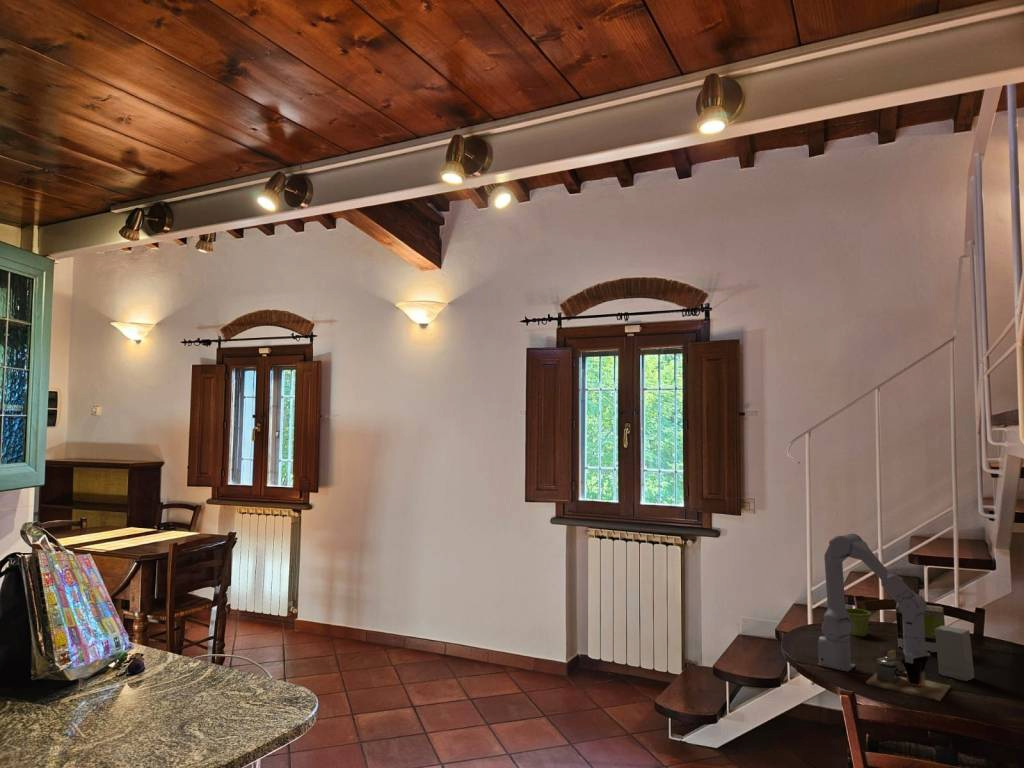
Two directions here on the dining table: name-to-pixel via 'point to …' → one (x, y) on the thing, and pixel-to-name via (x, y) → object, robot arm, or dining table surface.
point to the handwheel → (889, 659)
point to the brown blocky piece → (904, 674)
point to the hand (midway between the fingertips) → (916, 681)
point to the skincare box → (954, 652)
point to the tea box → (931, 621)
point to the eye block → (887, 673)
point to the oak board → (913, 687)
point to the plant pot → (859, 621)
